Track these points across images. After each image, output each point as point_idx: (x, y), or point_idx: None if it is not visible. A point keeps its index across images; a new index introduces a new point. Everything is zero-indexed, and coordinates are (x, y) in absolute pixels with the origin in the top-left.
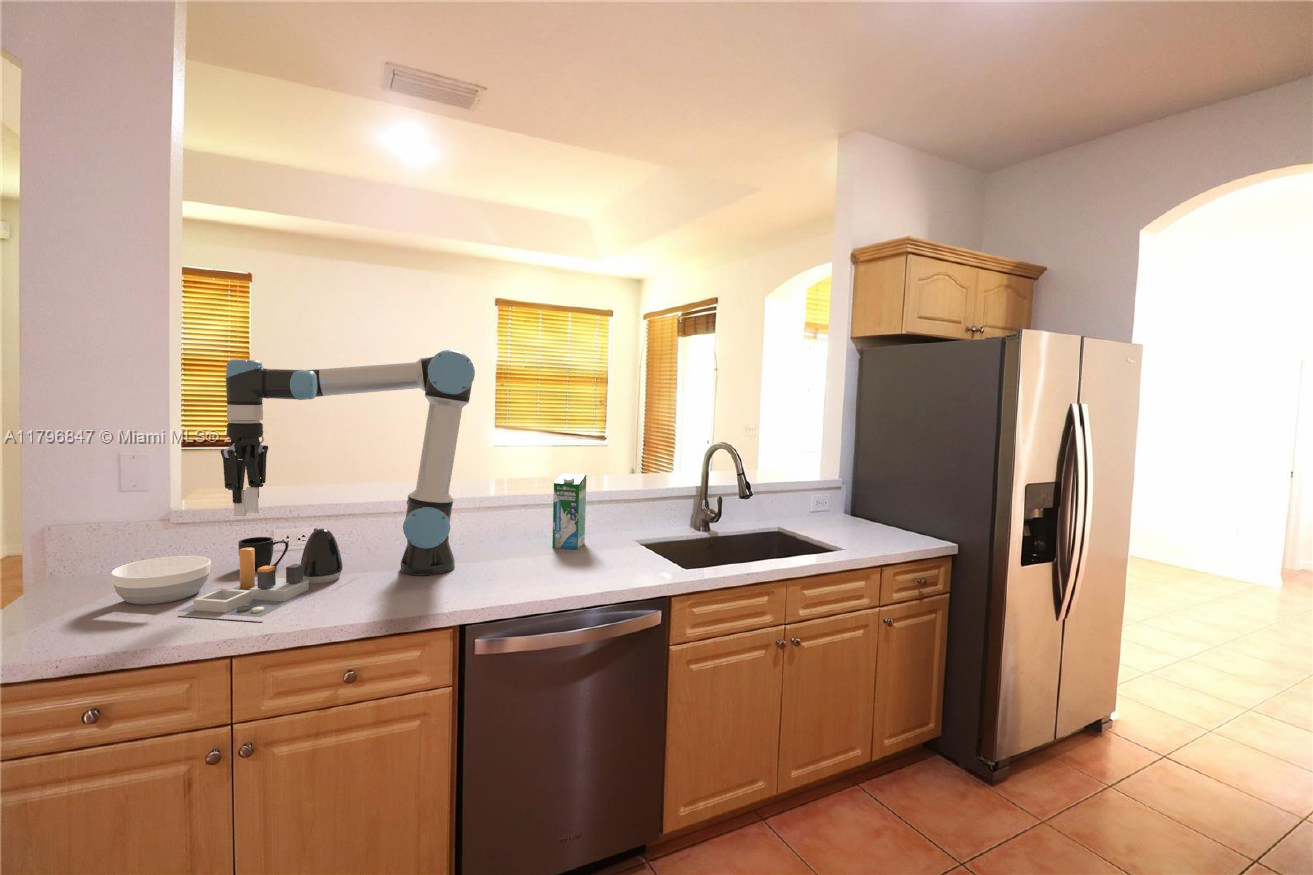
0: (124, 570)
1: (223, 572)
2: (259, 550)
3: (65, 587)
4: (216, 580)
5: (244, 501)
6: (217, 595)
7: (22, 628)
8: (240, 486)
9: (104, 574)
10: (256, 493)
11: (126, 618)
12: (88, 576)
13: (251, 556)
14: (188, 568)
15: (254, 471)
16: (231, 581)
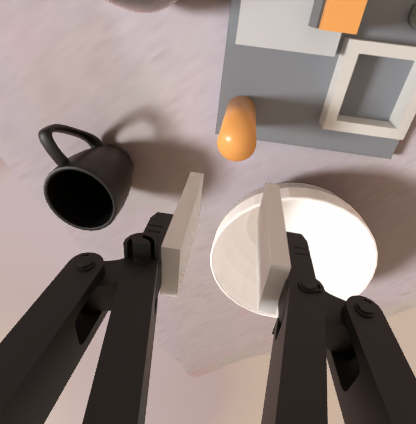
0: None
1: (124, 220)
2: (109, 170)
3: (223, 346)
4: (168, 207)
5: (279, 223)
6: (347, 119)
7: (386, 310)
8: (319, 298)
9: (168, 339)
10: (183, 226)
11: (370, 227)
12: (178, 347)
13: (245, 119)
14: (218, 245)
15: (146, 361)
16: (169, 180)
